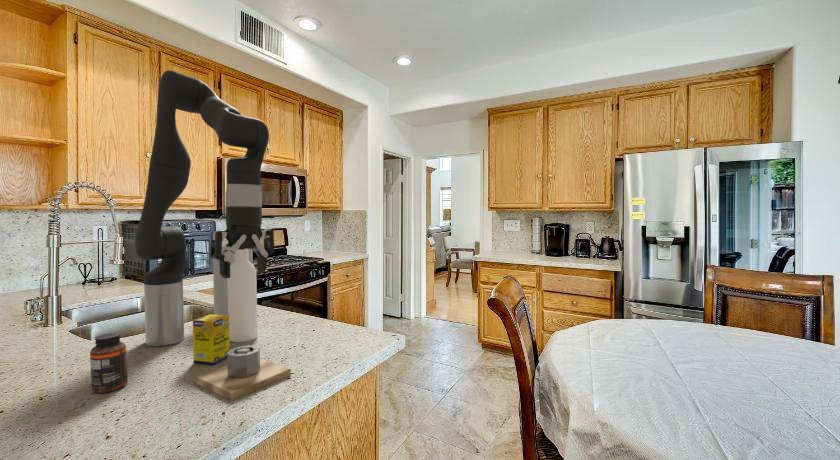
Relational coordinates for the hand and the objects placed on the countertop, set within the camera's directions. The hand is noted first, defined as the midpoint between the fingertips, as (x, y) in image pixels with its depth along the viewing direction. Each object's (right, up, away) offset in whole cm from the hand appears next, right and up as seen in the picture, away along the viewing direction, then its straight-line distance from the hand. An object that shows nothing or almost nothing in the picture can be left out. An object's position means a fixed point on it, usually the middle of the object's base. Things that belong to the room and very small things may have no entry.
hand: (244, 275), depth 87 cm
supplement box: (-12, -23, +8) cm, 27 cm away
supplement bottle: (-25, -23, -7) cm, 35 cm away
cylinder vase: (-25, -21, +47) cm, 57 cm away
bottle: (-12, -22, +25) cm, 35 cm away
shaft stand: (+1, -23, -3) cm, 23 cm away
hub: (+1, -22, -3) cm, 22 cm away
